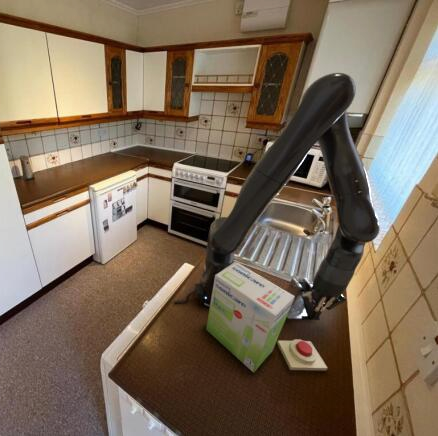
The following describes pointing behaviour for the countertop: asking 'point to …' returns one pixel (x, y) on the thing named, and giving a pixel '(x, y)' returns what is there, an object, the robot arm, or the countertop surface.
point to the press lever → (305, 303)
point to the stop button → (304, 348)
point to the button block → (299, 361)
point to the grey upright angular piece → (297, 299)
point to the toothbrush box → (247, 313)
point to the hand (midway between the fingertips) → (312, 316)
